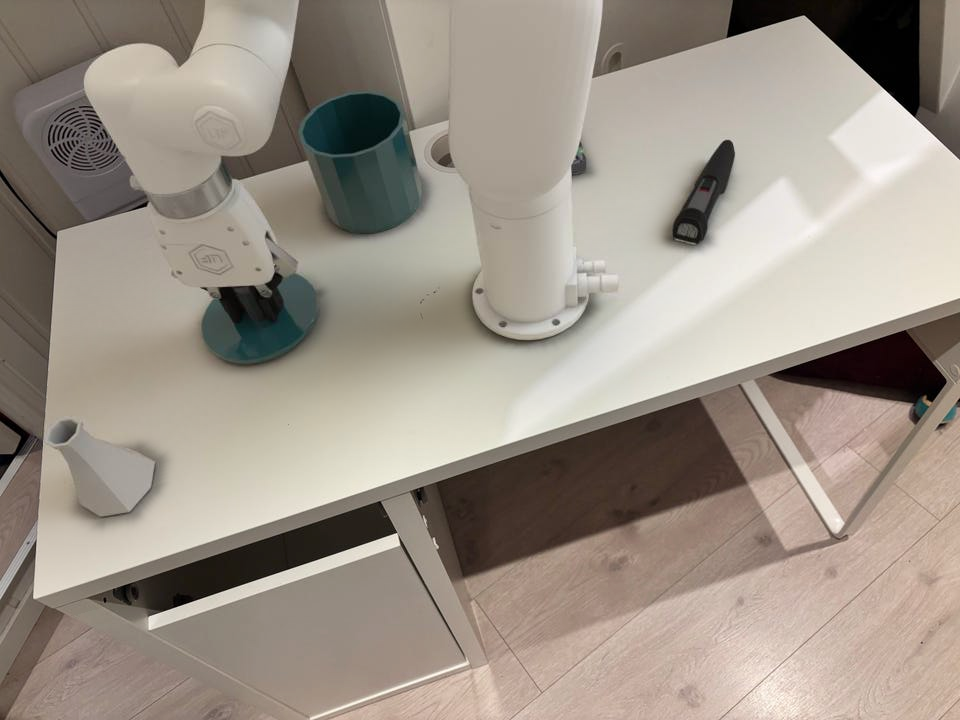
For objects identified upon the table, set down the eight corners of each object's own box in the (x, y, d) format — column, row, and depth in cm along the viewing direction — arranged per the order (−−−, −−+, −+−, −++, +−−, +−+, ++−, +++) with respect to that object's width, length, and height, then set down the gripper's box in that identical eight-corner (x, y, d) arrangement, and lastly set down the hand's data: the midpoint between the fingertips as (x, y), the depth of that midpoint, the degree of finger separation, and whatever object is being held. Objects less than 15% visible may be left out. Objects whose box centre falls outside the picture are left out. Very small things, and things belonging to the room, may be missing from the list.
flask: (134, 523, 70) (76, 472, 62) (69, 512, 72) (4, 462, 64) (168, 456, 74) (117, 401, 66) (105, 448, 76) (48, 392, 68)
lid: (329, 274, 87) (312, 232, 82) (308, 365, 79) (287, 325, 74) (223, 279, 89) (199, 238, 83) (191, 368, 81) (163, 329, 75)
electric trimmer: (741, 163, 90) (745, 141, 88) (701, 247, 82) (705, 225, 80) (710, 156, 92) (714, 135, 89) (668, 238, 84) (671, 217, 81)
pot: (426, 165, 97) (409, 87, 88) (416, 231, 89) (396, 153, 80) (336, 171, 98) (310, 95, 89) (319, 236, 91) (289, 160, 82)
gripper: (90, 216, 67) (178, 341, 82) (265, 207, 65) (324, 337, 80) (118, 162, 71) (197, 290, 86) (283, 152, 69) (336, 285, 84)
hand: (257, 312), depth 83 cm, fingers open, 3 cm apart
